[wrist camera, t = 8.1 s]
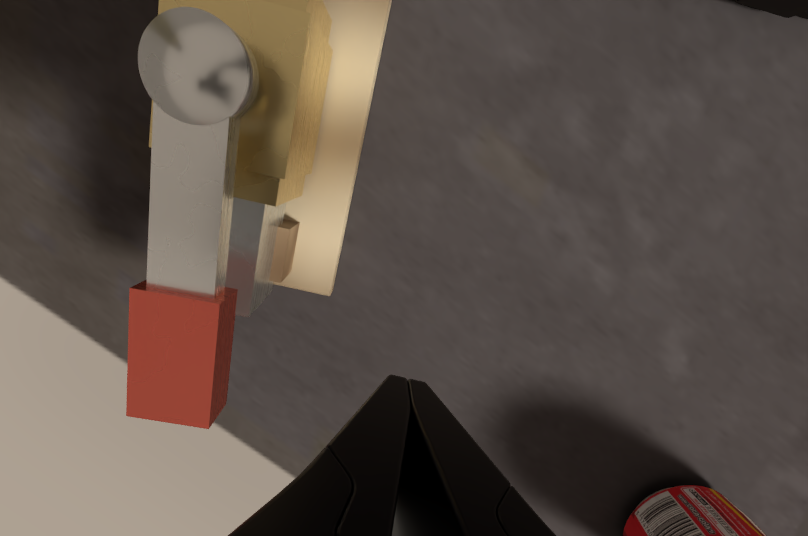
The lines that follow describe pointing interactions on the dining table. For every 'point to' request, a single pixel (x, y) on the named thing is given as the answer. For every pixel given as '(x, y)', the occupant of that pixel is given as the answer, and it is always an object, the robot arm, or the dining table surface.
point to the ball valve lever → (188, 217)
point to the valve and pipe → (271, 127)
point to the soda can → (689, 515)
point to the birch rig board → (333, 151)
